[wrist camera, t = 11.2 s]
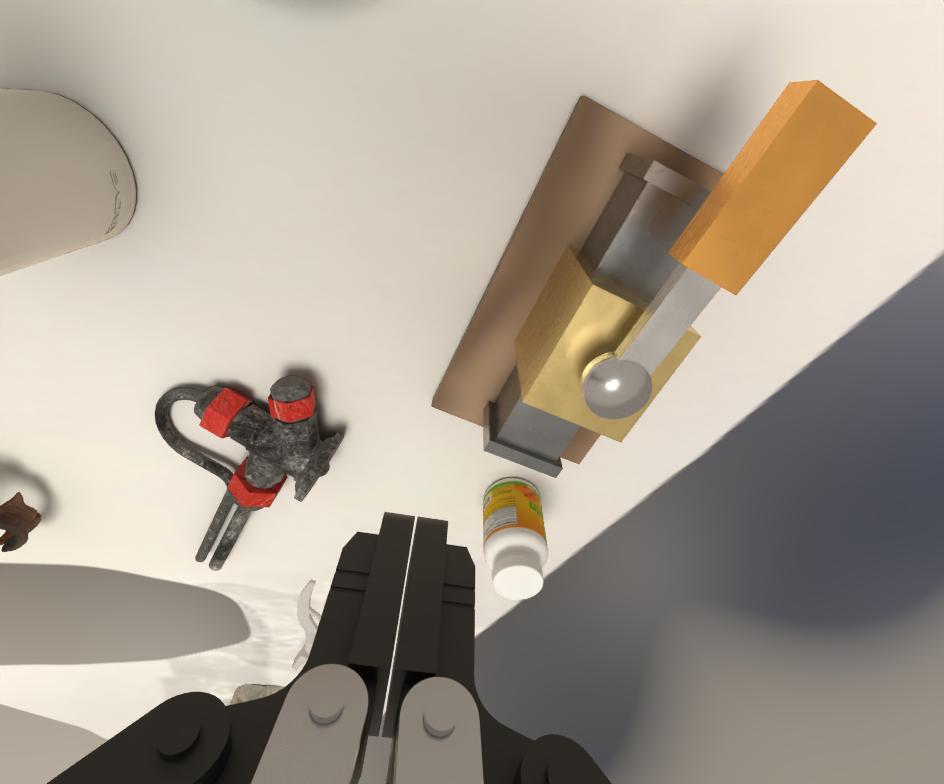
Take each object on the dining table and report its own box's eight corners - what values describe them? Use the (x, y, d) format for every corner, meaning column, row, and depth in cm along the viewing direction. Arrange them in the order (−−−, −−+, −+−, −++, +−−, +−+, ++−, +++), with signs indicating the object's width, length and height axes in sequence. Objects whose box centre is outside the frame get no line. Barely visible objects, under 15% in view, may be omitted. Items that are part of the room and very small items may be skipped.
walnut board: (432, 399, 41) (431, 406, 40) (580, 96, 30) (584, 95, 29) (576, 456, 44) (579, 464, 43) (760, 197, 33) (770, 200, 32)
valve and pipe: (477, 404, 40) (476, 485, 32) (618, 148, 31) (672, 163, 22) (551, 434, 42) (570, 519, 33) (708, 197, 32) (793, 230, 23)
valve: (215, 299, 39) (374, 400, 41) (145, 494, 52) (270, 565, 53) (157, 326, 34) (344, 441, 36) (94, 537, 46) (236, 615, 48)
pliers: (391, 617, 54) (342, 684, 61) (393, 605, 55) (346, 671, 62) (305, 588, 52) (265, 661, 58) (310, 576, 53) (270, 648, 60)
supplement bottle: (548, 508, 47) (562, 595, 39) (497, 525, 48) (500, 612, 40) (527, 468, 45) (537, 551, 36) (473, 487, 46) (472, 571, 37)
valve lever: (618, 413, 29) (627, 432, 27) (567, 388, 28) (572, 407, 26) (847, 124, 21) (880, 126, 19) (785, 80, 20) (814, 77, 19)
